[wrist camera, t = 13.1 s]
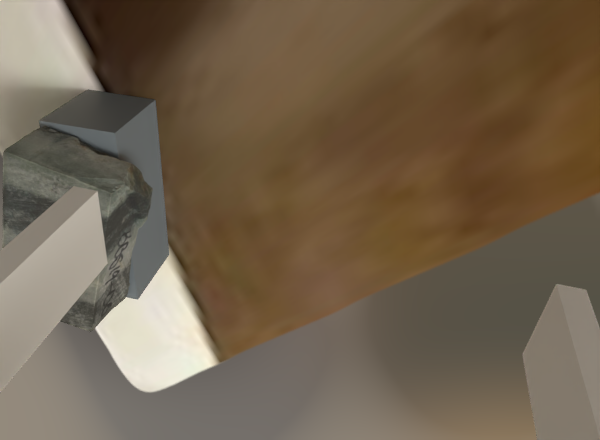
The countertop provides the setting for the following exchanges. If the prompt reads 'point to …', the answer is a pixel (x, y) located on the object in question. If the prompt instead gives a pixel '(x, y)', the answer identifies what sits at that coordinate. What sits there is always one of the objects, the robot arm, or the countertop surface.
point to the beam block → (127, 147)
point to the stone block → (61, 178)
